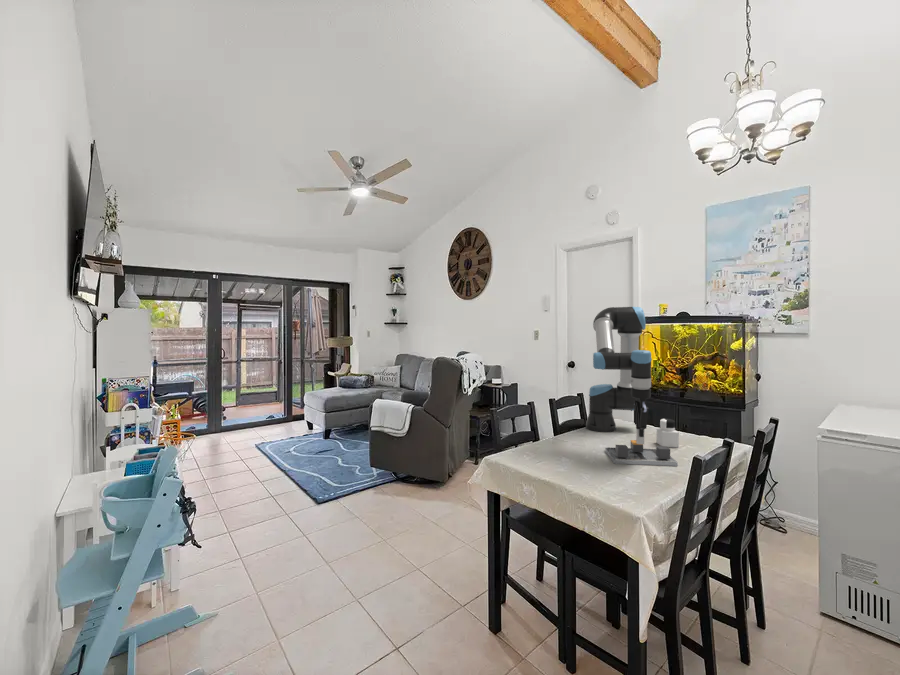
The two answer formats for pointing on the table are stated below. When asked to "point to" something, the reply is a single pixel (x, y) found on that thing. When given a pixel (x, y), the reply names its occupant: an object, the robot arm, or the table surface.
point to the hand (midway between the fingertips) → (640, 443)
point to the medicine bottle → (667, 434)
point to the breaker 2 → (662, 452)
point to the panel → (640, 458)
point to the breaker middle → (636, 446)
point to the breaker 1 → (622, 451)
